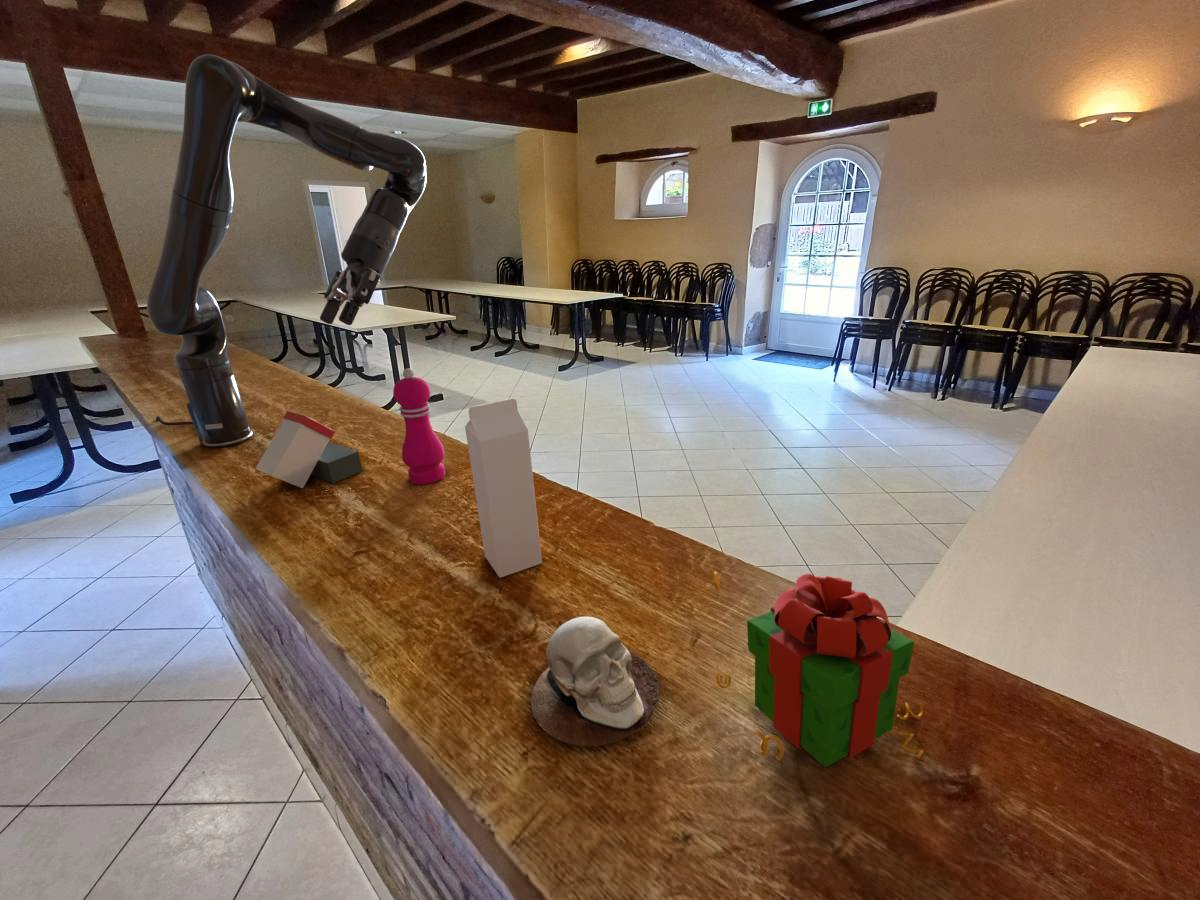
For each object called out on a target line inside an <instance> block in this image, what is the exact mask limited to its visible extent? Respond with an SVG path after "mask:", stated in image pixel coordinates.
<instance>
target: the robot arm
mask: <svg viewBox="0 0 1200 900" xmlns="http://www.w3.org/2000/svg"><path fill="white" fill-rule="evenodd" d="M185 79H186V80H185V89H184V111H183V126H182V128H183V129H182V137H181V142H180V146H179V152H178V159H177V165H176V171H175V177H174V181H173V185H172V190H171V196H170V201H169V206H168V213H167V214H168V215H167V222H166V226H165V231H164V237H163V241H162V247H161V252H160V257H159V261H158V265H157V268H156V271H155V273H154V274H155V275H154V276H153V280H152V282H151V285H150V288H149V292H148V296H147V301H146V311H147V315H148V318H149V320H150V322H151V324H152V325H153V327H154V328H155V329H157V330H158V331H159V332H160V333H163V334H165V335H167V336H174V337H175V336H181V339H182V340H181V344H180V347H179V348H178V350H177V351H176V352H175V353H174V356H173V359H174V360H173V361H174V363H175V365H176V368H177V371H178V374H179V376H180V380H181V382H182V385H183V387H184V391H185V393H186V396H187V399H188V402H187V403H186V407H187V410H188V413H189V416H190V419H191V421H173V422H172V421H171V422H170V421H164V420H163V419H162V417H161V416H159V415H157V416H156V417H155V422H159V423H160V424H162V425H164V426H186V425H187V426H188V425H189V426H192V425H193V428H194V431H195V433H196V437H197V439H198V441H199V444H200V445H203V446H204V447H205V448H222V447H229V446H233V445H236V444H241V443H243V442H245V441H248V440H249V439H251V438H252V437H253V436H254V432H253V431H252V428H251V425H250V421H249V418H248V416H247V412H246V409H245V406H244V403H243V399H242V396H241V393H240V390H239V386H238V384H237V380H236V377H235V374H234V371H233V368H232V365H231V362H230V357H229V354H228V351H229V339H228V336H227V332H226V328H225V324H224V321H223V316H222V313H221V310H220V307H219V304H218V302H217V300H216V299H215V297H214V296H213V294H212V293H211V292H210V291H208V290H207V289H206V288H205V287H203V286H201V285H200V282H201V278H202V276H203V273H204V271H205V269H206V267H207V266H208V264H209V263H210V261H211V260H212V258H213V257H214V256H215V254H216V253H217V252H218V250H219V248H220V247H221V245H222V244H223V242H224V241H225V239H226V236H227V234H228V230H229V227H230V223H231V218H232V214H233V209H234V204H235V192H234V184H233V179H232V173H231V168H230V149H231V144H232V140H233V139H232V138H233V135H234V132H235V128H236V125H237V123H243V122H245V123H247V124H248V123H249V124H252V125H257V126H260V127H264V128H268V129H271V130H274V131H277V132H280V133H282V134H285V135H287V136H289V137H291V138H294V139H295V140H298V141H300V143H303V144H305V145H306V146H309V147H310V148H311V149H313V150H314V151H317V152H319V153H321V154H322V155H325V156H327V157H329V158H331V159H333V160H335V161H338V162H340V163H343V164H344V165H347V166H350V167H352V168H354V169H355V170H356V169H357V170H359V171H362V172H369V171H371V170H372V169H373V168H376V169H379V170H381V171H385V172H387V176H386V179H385V182H384V184H383V185H382V186H381V187H378V188H376V189H375V190H374V191H373V192H372V193H371V195H370V197H369V199H368V201H367V203H366V205H365V207H364V209H363V211H362V213H361V215H360V217H359V218H358V219H357V220H356V222H355V224H354V226H353V229H352V230H351V233H350V235H349V237H348V238H347V241H346V242H345V245H344V247H343V249H342V251H341V254H340V256H341V258H342V260H343V261H344V262H345V263H346V265H347V266H346V268H345V269H344V270H342V271H341V270H339V269H338V270H336V271H335V274H334V275H333V277H332V280H331V281H330V283H329V286H327V289H326V291H325V293H324V294H323V298H324V299H325V301H326V303H325V305H324V308H323V309H322V311H321V313H320V316H319V320H320V321H322V322H323V323H325V324H328V325H332V324H333V323H334V321H335V319H336V317H337V314H338V313H339V311H340V308H341V307H342V305H343V304H344V303H345V304H344V306H343V308H342V310H341V312H340V314H339V316H338V321H339V322H341V323H343V324H345V325H347V326H352V325H353V323H354V321H355V319H356V317H357V314H358V312H359V310H360V308H362V307H363V306H365V305H368V304H369V303H370V302H371V299H372V298H373V295H374V292H375V290H376V288H377V286H378V283H379V280H380V279H381V277H383V274H384V272H385V270H386V268H387V266H388V263H389V262H390V259H391V257H392V255H393V253H394V250H395V249H396V246H397V243H398V240H399V237H400V234H401V232H402V230H403V228H404V226H405V224H406V222H407V219H408V216H409V214H410V213H411V211H412V210H413V209H414V207H415V206H416V205H417V203H418V202H419V200H420V199H421V197H422V195H423V193H424V191H425V188H426V185H427V179H428V178H427V165H426V163H427V162H426V159H425V156H424V154H423V152H422V151H421V150H420V148H418V146H416V145H415V144H414V143H411V142H410V141H408V140H407V139H404V138H402V137H397V136H393V135H388V134H384V133H380V132H373V131H369V130H367V129H365V128H363V127H361V126H358V125H357V124H354V123H352V122H350V121H348V120H346V119H343V118H340V117H338V116H336V115H334V114H331V113H328V112H326V111H323V110H320V109H318V108H316V107H313V106H311V105H308V104H306V103H303V102H301V101H299V100H296V99H294V98H292V97H291V96H288V95H286V94H285V93H283V92H281V91H279V90H278V89H276V88H274V87H273V86H272V85H270V84H268V83H267V82H265V81H264V80H262V79H260V78H259V77H257V76H256V75H254V74H253V73H251V72H250V71H248V70H247V69H246V68H245V67H244V66H242V65H240V64H238V63H235V62H233V61H230V60H228V59H226V58H224V57H221V56H218V55H216V54H203V55H199V56H198V57H196V58H195V59H194V60H192V62H191V63H190V65H189V67H188V70H187V73H186V78H185Z"/></svg>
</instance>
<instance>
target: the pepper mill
mask: <svg viewBox="0 0 1200 900" xmlns="http://www.w3.org/2000/svg"><path fill="white" fill-rule="evenodd" d="M402 376H403V378H401V379H400V380H398V381H397V382H396V383H395V384H394V386H393V391H392V394H393V399H394V401H395V402H396V403H397V404H398V405H400V406H399V408H398V409H399V411H400V413H399V414H400V416H401V417H403V421H404V424H405V436H404V440H403V443H402V447H401V448H402V449H401V458H402V462H403V464H404V465H405V466H407V467H408V470H407V473H408V479H409V481H410V483H413V484H416V485H426V484H433V483H435V482H438V481H440V480H442V479H443V478H444V477H445V476H446V469H445V465H444V463H442V461H443V460H444V459H445V455H446V454H445V453H446V452H445V449H444V445H443V444H442V441H441V439H440V438H439V437H438V436H437V434H436V433H435V430H434V429H433V426H432V425H431V420H430V413H431V404H430V403H429V402H428V401H429V400H430V398H431V388H430V385H429V384H428V382H427V381H426V380H425V379H423V378H421V377H418V376H415V372H414V370H413V369H411V368H405V369H404V370H403V371H402Z"/></svg>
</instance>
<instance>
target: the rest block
mask: <svg viewBox="0 0 1200 900" xmlns="http://www.w3.org/2000/svg"><path fill="white" fill-rule="evenodd" d="M362 466H363V465H362V461H361V457H360V453H359V451H357V450H355V449H351V448H348V447H345V446H343V445H342V446H341V445H338V444H335V443H332V442H330V441H329V442H328V443H327V445H326V447H325V449H324V451H323V453H322V454H321V456H320V458H319V460H318V462H317V463H316V465H315V467H314V469H313V471H312V473H311V474H310V476H313V477H316V478H319V479H321V480H324V481H325V482H329V483H331V484H336V483H337V482H340V481H342V480H345V479H347V478H350V477H352V476H354V475H357V474H359V473H361V472H364V469H363V467H362Z"/></svg>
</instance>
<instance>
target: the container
mask: <svg viewBox="0 0 1200 900" xmlns="http://www.w3.org/2000/svg"><path fill="white" fill-rule="evenodd" d="M335 433H336V431H335V430H334V429H332V428H330V427H328V426H326V425H324V424H322V423H320V422H319V421H317V420H315V419H312V418H311V417H309V416H307V415H305V414H301V413H297V412H292V411H289V410H286V412H285V414H284V416H283V420H282V421H281V423H280V425H279V426H278V427H277V429H276V432H275V433H274V435H273V437H272V439H271V441H270V442H269V444H268V446H267V447H266V449H265V451H264V452H263V454H262V455H261V458H260V459H259V461H258V463H257V465H256V466H255V470H256V471H259V472H261V473H264V474H265V475H268V476H271V477H273V478H276V479H278V480H281V481H283V482H285V483H288V484H290V485H293V486H296V487H297V488H301V489H304V487H305V486H306V483H307V482H308V480H309V478H310V476H311V475H310V474H311V473H312V471H313V469H314V467H315V465H316V463H317V462H318V460H319V458H320V456H321V454H322V453H323V451H324V449H325V447H326V445H327V443H328V442H329V443H330V440H331V439H333V437H334V435H335Z"/></svg>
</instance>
